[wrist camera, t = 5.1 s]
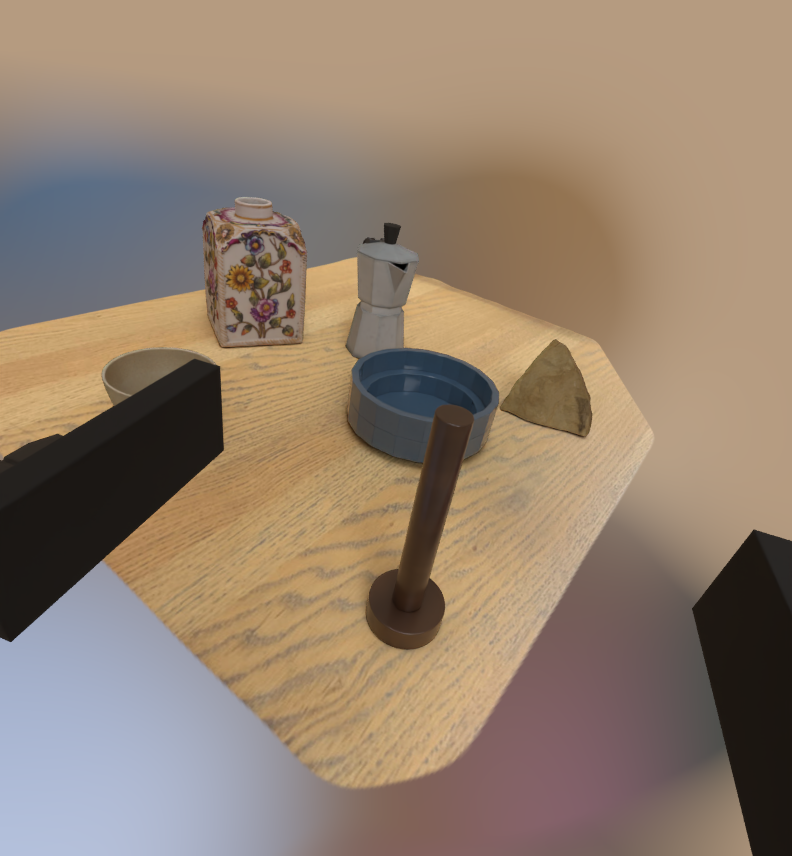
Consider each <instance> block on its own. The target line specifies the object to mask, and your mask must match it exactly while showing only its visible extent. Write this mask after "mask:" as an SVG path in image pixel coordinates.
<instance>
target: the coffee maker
mask: <svg viewBox="0 0 792 856" xmlns="http://www.w3.org/2000/svg"><path fill="white" fill-rule="evenodd" d="M400 228H401V226H400V225H397V224H392V223H384V238H381V239H380V240H375V239H374V238H366V239H365V240H364V242H363V244H360V245H359V249H358V254H357V255H358V298H359V299H360V300H361V302H360V303H359V304H357V307H356V311H355V314H354V318H353V321H352V325H351V328H350V332H349V336H348V339H347V343H346V347H347V349H348V350H349V352H350V353H351V354H352V356H354V357H357V358H362V357H364V356H366V355H367V354H369V353H372V352H376V351H380V350H384V349H394V348H404V311H403V310H402V308H401V307H402V306H404V305H405V304H406V301H407V298H408V294H409V291H410V288H411V285H412V281H413V278H414V275H415V271H416V268H417V265H418V262H419V258H418V254H417V253H415V252H413V251H411V250H409V249H407V248H405V247H402V246H400V245H398V244H396V241H397V238H398V235H399V231H400Z"/></svg>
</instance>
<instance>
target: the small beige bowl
mask: <svg viewBox="0 0 792 856" xmlns="http://www.w3.org/2000/svg"><path fill="white" fill-rule="evenodd" d="M193 359H198V360H201V361H204V362H208V363H211V364H214V365H216V363H215V362H214V361H213V360H211V359H210V358H209V357H207V356H205V355H203V354H200V353H198V352H195V351H191V350H186V349H180V348H167V347H159V348H146V349H140V350H135V351H131V352H128V353H125V354H122V355H120V356H118V357H116V358H114V359H113V360H111V361H110V362H108V363H107V364H106V365H105V367H104V368H103V370H102V380H103V383H104V386H105V388H106V391H107V393H108V395H109V397H110V399H111V401H112V403H113V405H114V406H115V405H117V404H118V403H120V402H122V401H123V400H125V399H127V398H128V397H130V396H132V395H134V394H135V393H137V392H139V391H140V390H142V389H144V388H145V387H147V386H149V385H150V384H152V383H154V382H156V381H157V380H159V379H161V378H162V377H164V376H166V375H167V374H169V373H171V372H172V371H174V370H176V369H178V368H179V367H181V366H183V365H184V364H186V363H188V362H189V361H191V360H193Z"/></svg>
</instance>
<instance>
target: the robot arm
mask: <svg viewBox="0 0 792 856" xmlns="http://www.w3.org/2000/svg"><path fill="white" fill-rule="evenodd" d="M222 451H224V444H223V422H222V400H221V378H220V366H217V365H214V364H211V363H208V362H204V361H201V360H198V359H193V360H191V361H189V362H188V363H186V364H184V365H183V366H181V367H179V368H178V369H176V370H174V371H172V372H171V373H169V374H167V375H166V376H164V377H162V378H161V379H159V380H157V381H156V382H154V383H152V384H150V385H149V386H147V387H145V388H144V389H142V390H140V391H139V392H137V393H135V394H134V395H132V396H130V397H128V398H127V399H125V400H123V401H122V402H120V403H118V404H117V405H115V406H113V407H112V408H110V409H108V410H107V411H105V412H103V413H101V414H100V415H98V416H96V417H95V418H93V419H91V420H90V421H88V422H86V423H85V424H83V425H81V426H79V427H78V428H76V429H74V430H73V431H71V432H69V433H68V434H66V435H64V436H62V435H59V434H56V435H52V436H49V437H46V438H43V439H40V440H37V441H34V442H31V443H28V444H26V445H24V446H23V447H21V448H19V449H17V450H16V451H14V452H12V453H10V454H9V455H7V456H5V457H4V459H3V460H2V461H1V460H0V638H2V639H5V640H7V641H9V642H12V641H13V640H14V639H15V638H16V637H17V636H18V635H19V634H21V632H23V631H24V630H25V629H26V628H27V627H28V626H29V625H31V624H32V623H33V622H34V621H35V620H36V619H37V618H38V617H39V616H41V615H42V614H43V613H44V612H45V611H46V610H47V609H48V608H49V607H50V606H52V605H53V604H54V603H55V602H56V601H57V600H58V599H59V598H60V597H62V596H63V595H64V594H65V593H66V592H67V591H68V590H69V589H70V588H72V587H73V586H74V585H75V584H76V583H77V582H78V581H79V580H80V579H82V578H83V577H84V576H85V575H86V574H87V573H88V572H89V571H90V570H92V569H93V568H94V567H95V566H96V565H97V564H98V563H99V562H100V561H102V560H103V559H104V558H105V557H106V556H107V555H108V554H109V553H110V552H112V551H113V550H114V549H115V548H116V547H117V546H118V545H119V544H120V543H121V542H123V541H124V540H125V539H126V538H127V537H128V536H129V535H130V534H131V533H133V532H134V531H135V530H136V529H137V528H138V527H139V526H140V525H141V524H143V523H144V522H145V521H146V520H147V519H148V518H149V517H150V516H151V515H153V514H154V513H155V512H156V511H157V510H158V509H159V508H160V507H161V506H163V505H164V504H165V503H166V502H167V501H168V500H169V499H170V498H171V497H173V496H174V495H175V494H176V493H177V492H178V491H179V490H180V489H181V488H182V487H184V486H185V485H186V484H187V483H188V482H189V481H190V480H191V479H192V478H194V477H195V476H196V475H197V474H198V473H199V472H200V471H201V470H202V469H204V468H205V467H206V466H207V465H208V464H209V463H210V462H211V461H212V460H214V459H215V458H216V457H217V456H218V455H219V454H220V453H221V452H222ZM692 610H693V614H694V618H695V622H696V626H697V630H698V634H699V638H700V643H701V646H702V651H703V655H704V659H705V663H706V667H707V671H708V675H709V679H710V683H711V688H712V691H713V696H714V699H715V704H716V708H717V712H718V716H719V720H720V724H721V728H722V732H723V737H724V741H725V745H726V749H727V753H728V756H729V761H730V765H731V769H732V773H733V777H734V781H735V785H736V789H737V794H738V798H739V802H740V806H741V809H742V814H743V818H744V822H745V826H746V830H747V834H748V838H749V842H750V847H751V851H752V854H753V856H792V541H790V540H786V539H783V538H780V537H776V536H773V535H770V534H767V533H763V532H760V531H757V530H753V531H752V533H751V534H750V535H749V536H748V538H747V539H746V540H745V541H744V543H743V544H742V545H741V547H740V548H739V549H738V551H737V552H736V553H735V554H734V556H733V557H732V558H731V559H730V561H729V562H728V563H727V565H726V566H725V567H724V568H723V570H722V571H721V572H720V574H719V575H718V576H717V577H716V579H715V580H714V581H713V582H712V584H711V585H710V586H709V588H708V589H707V590H706V591H705V593H704V594H703V595H702V597H701V598H700V599H699V601H698V602H697V603H696V604H695V606H694V607H693V608H692Z"/></svg>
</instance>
